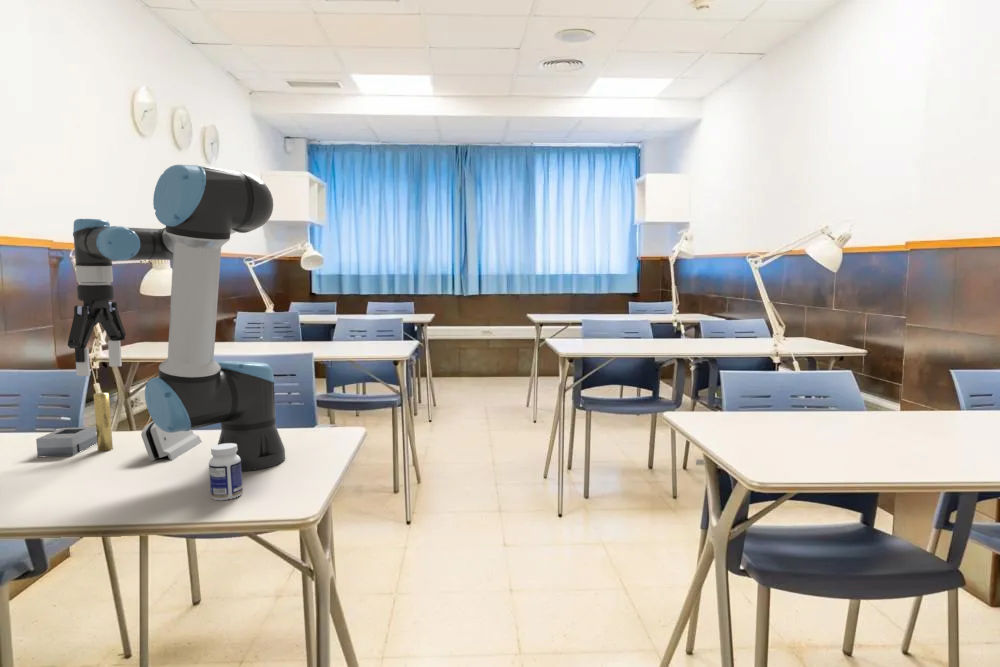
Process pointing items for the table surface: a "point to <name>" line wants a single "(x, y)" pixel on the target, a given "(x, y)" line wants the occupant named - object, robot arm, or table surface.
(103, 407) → the pin
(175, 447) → the white piece
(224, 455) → the pill bottle
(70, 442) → the grey block with pocket
